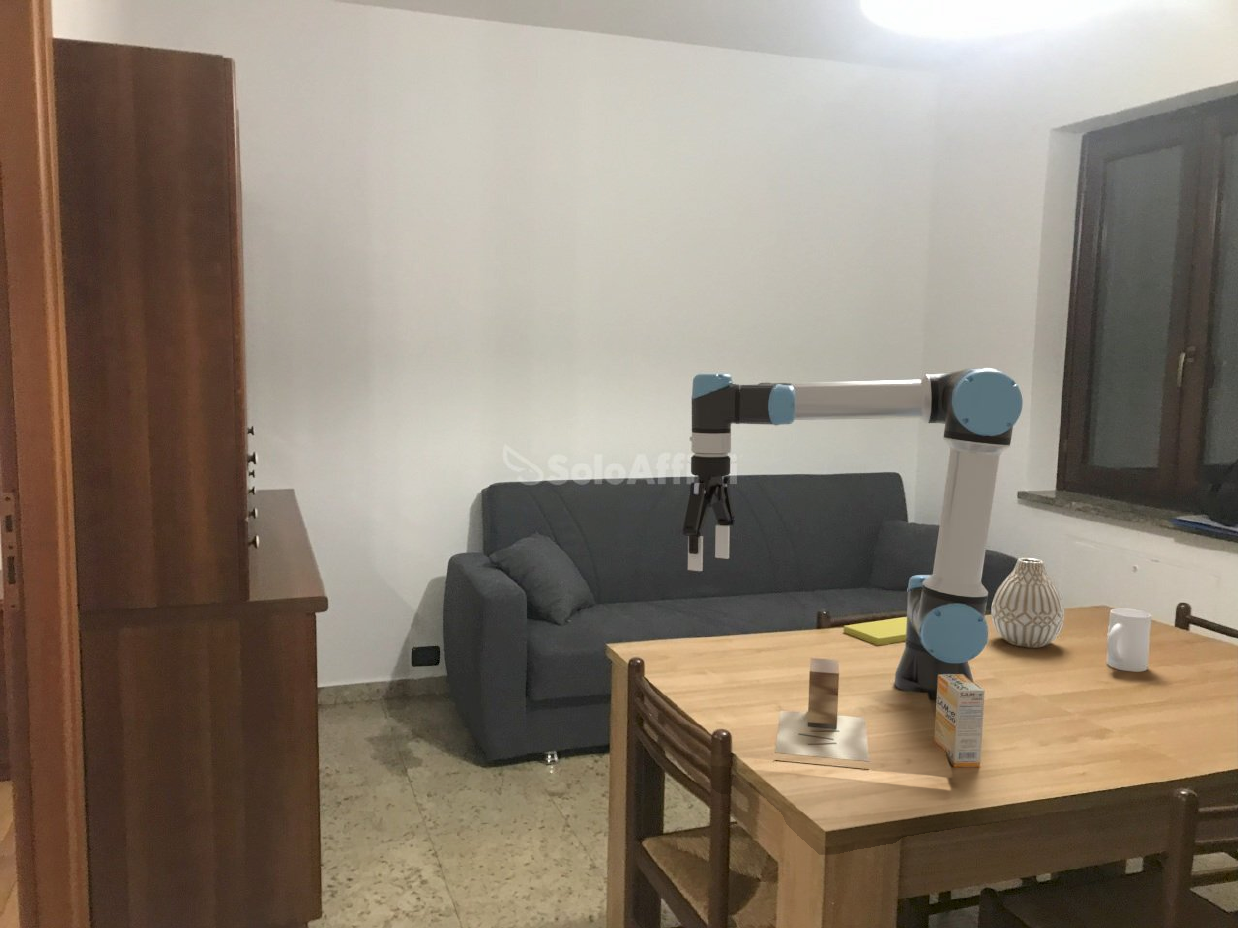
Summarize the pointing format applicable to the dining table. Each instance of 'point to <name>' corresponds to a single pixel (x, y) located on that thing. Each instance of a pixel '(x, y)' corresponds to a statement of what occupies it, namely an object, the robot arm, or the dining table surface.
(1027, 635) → the vase
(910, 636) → the robot arm
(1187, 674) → the dining table surface
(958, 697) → the supplement box
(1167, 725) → the dining table surface
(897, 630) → the yellow rectangular slab
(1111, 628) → the mug
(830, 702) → the block
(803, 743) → the board
